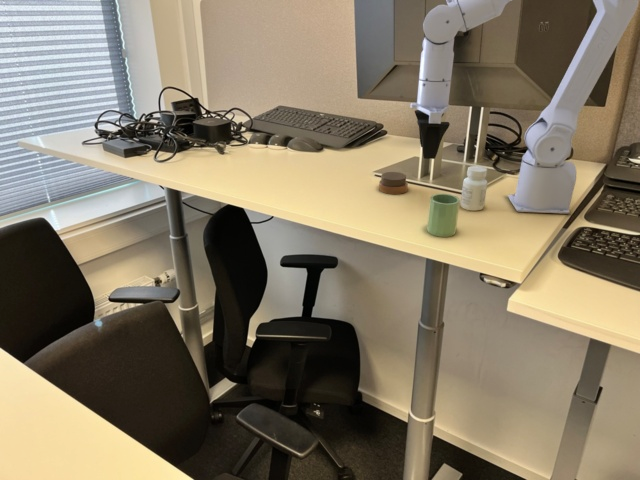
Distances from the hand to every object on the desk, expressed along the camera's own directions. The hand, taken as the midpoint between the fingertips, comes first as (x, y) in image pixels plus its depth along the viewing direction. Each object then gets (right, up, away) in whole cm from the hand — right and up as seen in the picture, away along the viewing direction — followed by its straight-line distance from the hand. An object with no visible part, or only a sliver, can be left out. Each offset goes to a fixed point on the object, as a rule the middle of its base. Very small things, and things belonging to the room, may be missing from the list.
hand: (427, 152), depth 91 cm
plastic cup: (0, -15, -10) cm, 18 cm away
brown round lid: (-6, -5, +8) cm, 11 cm away
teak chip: (-5, -6, +8) cm, 12 cm away
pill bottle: (+8, -11, 0) cm, 14 cm away
